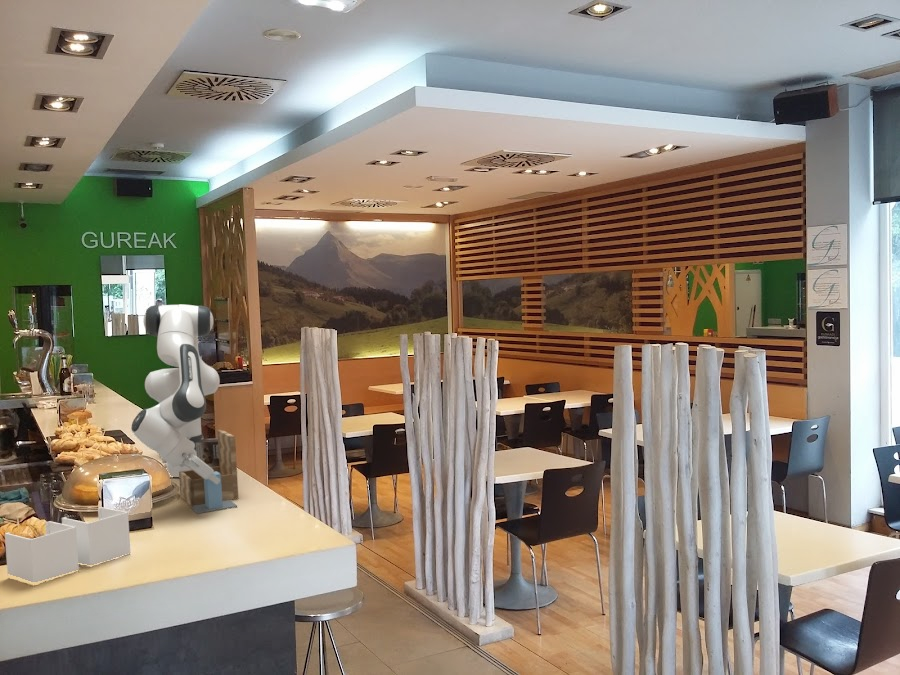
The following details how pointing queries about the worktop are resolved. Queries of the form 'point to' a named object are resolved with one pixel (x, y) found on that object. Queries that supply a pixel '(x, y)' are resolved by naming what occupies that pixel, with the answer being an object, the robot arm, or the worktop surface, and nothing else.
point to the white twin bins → (68, 546)
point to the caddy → (227, 468)
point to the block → (213, 492)
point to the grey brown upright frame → (208, 451)
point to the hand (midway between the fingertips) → (214, 479)
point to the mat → (204, 508)
